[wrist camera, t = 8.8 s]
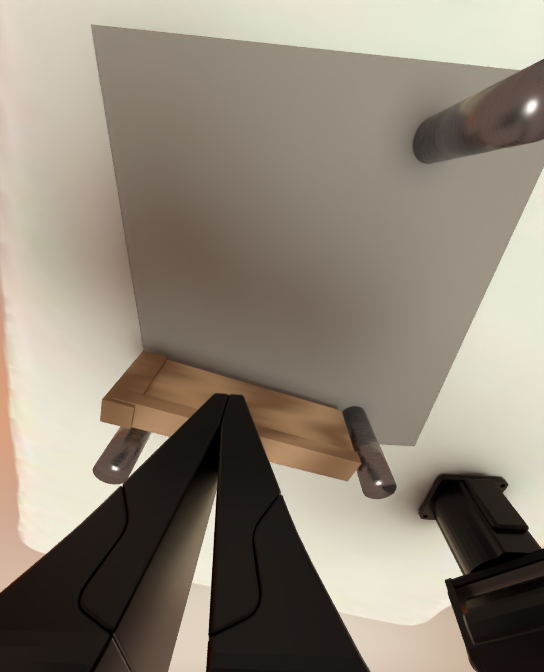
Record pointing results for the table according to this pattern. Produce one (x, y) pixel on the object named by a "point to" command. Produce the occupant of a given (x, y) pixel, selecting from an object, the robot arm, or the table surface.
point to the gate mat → (305, 215)
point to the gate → (265, 407)
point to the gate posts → (429, 147)
